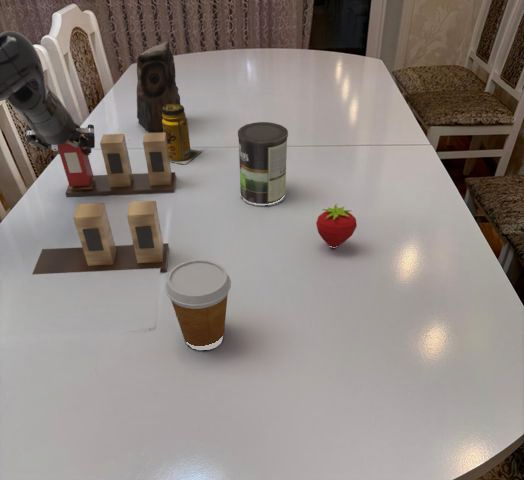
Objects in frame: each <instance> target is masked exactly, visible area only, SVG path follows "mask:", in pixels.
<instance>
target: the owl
mask: <svg viewBox="0 0 524 480" xmlns="http://www.w3.org/2000/svg"><path fill="white" fill-rule="evenodd" d="M136 77H137V78H136V79H137V81H136V118H137V120H138V121H137V123H138V124H139V125H140V126H141V127H142V128H143V129H144V130H145V131H146V132H147V133H162V132H164V131H163V125H162V120H163V113H162V108H163V107H164V106H165V105H168V104H180V105H182V104H181V96H180V94H179V87H178V86H177V82H176V77H177V76H176V66H175V58H174V56H173V53H172V50H171V48H170V41H169V40H166V41H165V42H162V43H160V44H157V45H154V46H152V47H151V48H148V49H146V50H144V51H143V52H142V53H139V54H138V55H137V57H136Z"/></svg>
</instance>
